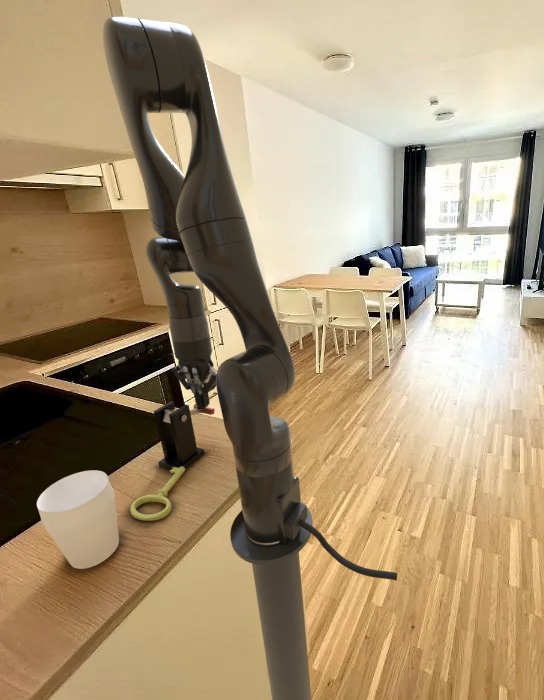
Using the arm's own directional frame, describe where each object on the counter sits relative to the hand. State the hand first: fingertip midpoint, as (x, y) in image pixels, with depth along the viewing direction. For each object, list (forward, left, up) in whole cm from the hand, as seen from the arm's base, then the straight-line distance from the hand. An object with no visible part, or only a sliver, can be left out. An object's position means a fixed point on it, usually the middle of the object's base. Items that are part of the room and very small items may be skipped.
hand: (203, 406), depth 82 cm
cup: (-4, +31, -9) cm, 32 cm away
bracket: (0, +8, -9) cm, 12 cm away
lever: (0, +5, 0) cm, 5 cm away
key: (-5, +19, -9) cm, 21 cm away
